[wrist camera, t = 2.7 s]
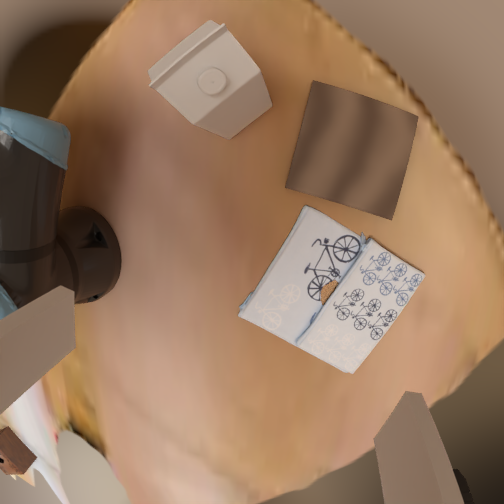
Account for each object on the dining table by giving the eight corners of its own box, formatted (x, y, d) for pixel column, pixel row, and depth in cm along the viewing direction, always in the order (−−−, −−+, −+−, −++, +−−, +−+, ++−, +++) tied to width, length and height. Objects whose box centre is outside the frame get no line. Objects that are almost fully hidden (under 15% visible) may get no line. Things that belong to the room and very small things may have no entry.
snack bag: (347, 371, 45) (349, 379, 43) (234, 310, 45) (231, 316, 43) (424, 272, 40) (430, 277, 38) (306, 193, 40) (307, 194, 37)
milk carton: (196, 101, 38) (125, 58, 19) (238, 67, 36) (196, -2, 18) (229, 140, 38) (176, 118, 20) (273, 106, 37) (255, 54, 18)
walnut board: (285, 187, 39) (285, 187, 38) (312, 83, 35) (313, 80, 34) (388, 218, 38) (391, 220, 37) (414, 118, 34) (418, 116, 33)
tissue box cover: (8, 425, 68) (-7, 442, 59) (37, 456, 70) (23, 474, 61) (-7, 433, 75) (-20, 447, 65) (17, 460, 77) (6, 474, 67)
